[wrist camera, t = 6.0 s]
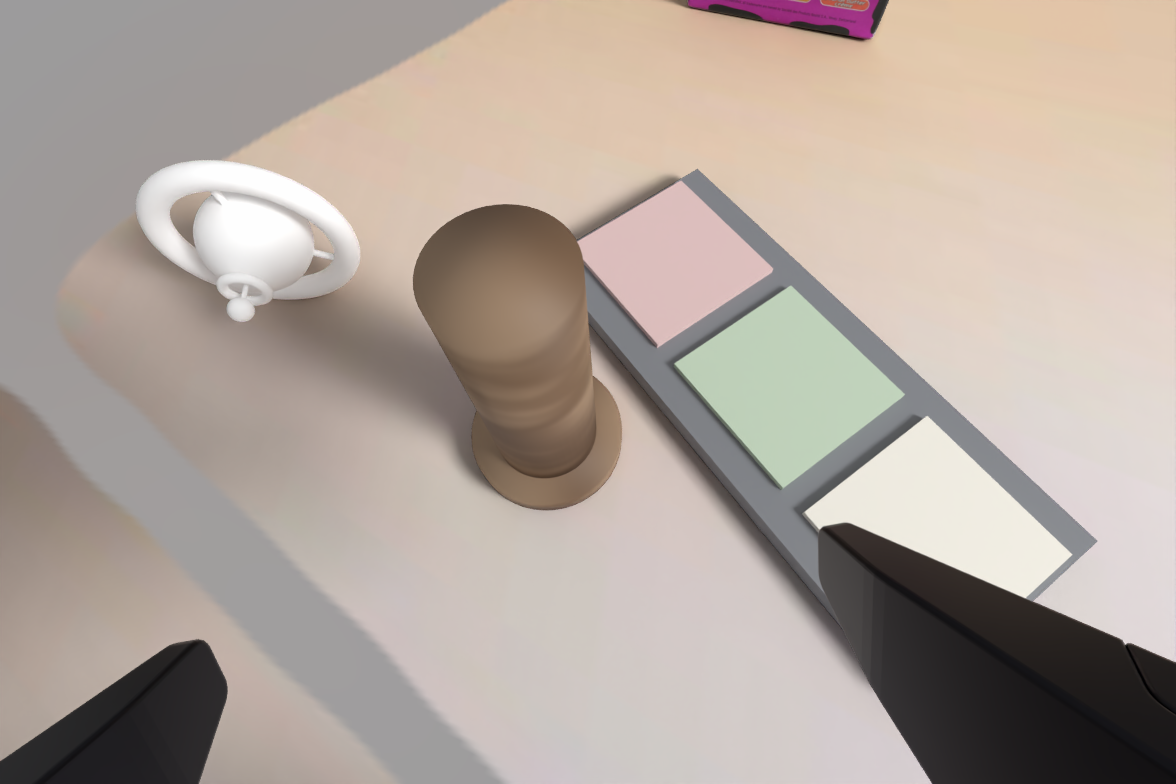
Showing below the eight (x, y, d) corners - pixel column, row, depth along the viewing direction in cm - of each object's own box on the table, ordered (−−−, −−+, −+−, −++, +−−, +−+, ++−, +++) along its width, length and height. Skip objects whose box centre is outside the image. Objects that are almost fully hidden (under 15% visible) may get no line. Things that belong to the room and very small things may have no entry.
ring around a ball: (390, 256, 28) (312, 118, 21) (380, 360, 26) (288, 245, 19) (227, 269, 28) (93, 136, 21) (203, 373, 26) (42, 264, 19)
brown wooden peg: (526, 541, 22) (449, 441, 12) (450, 423, 24) (327, 250, 14) (651, 453, 24) (680, 293, 13) (568, 348, 26) (536, 138, 15)
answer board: (905, 704, 19) (923, 707, 18) (546, 272, 27) (543, 255, 26) (1076, 545, 21) (1104, 539, 20) (694, 183, 29) (698, 164, 28)
